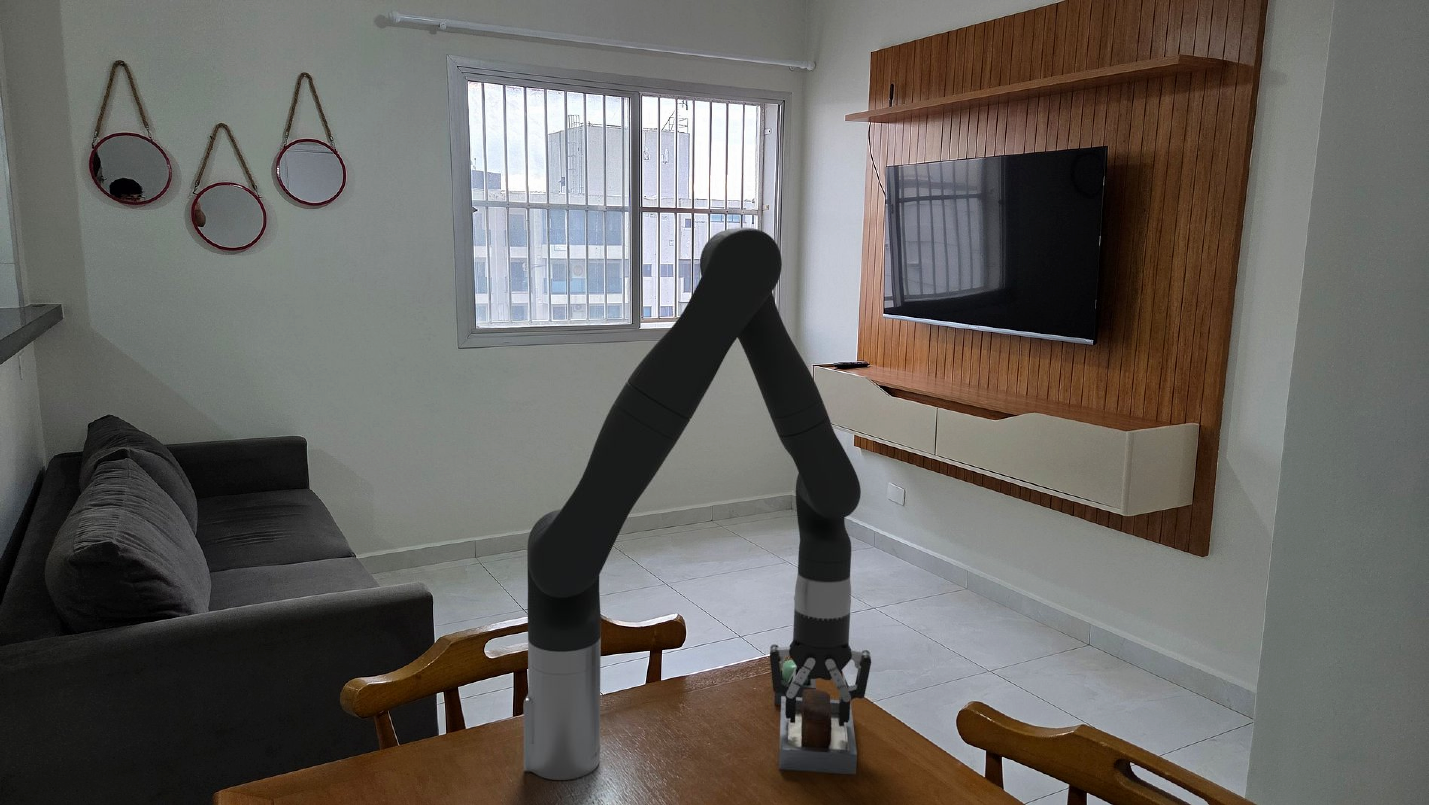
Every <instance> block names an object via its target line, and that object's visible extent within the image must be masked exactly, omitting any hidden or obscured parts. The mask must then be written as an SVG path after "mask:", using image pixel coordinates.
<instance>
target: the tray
mask: <svg viewBox="0 0 1429 805" xmlns="http://www.w3.org/2000/svg"><path fill="white" fill-rule="evenodd" d="M785 707H786V697H785V696H781V705H780V720H779V721H780V724H779V727H780V728H779V750H778V752H779V753H778V754H779V755H778V770H784V771H785V770H787V771H788V770H789V771H799V772H813V773H815V772H816V773H828V774H829V773H830V774H841V775H842V774H844V775H854V776H856V775H857V762H858V761H857V760H858V751H857V744H856V736H855V735H856V734H855V727H854V719H853V712H852V711H853V710H852V701H851V702H850V718H849V721H848V723H845V722H844V727H842V726H839V722H838V715H839V699H831V698H830V707H831V723H832V725H831V728H832V731H831V743H830V746H829V749H826V748H812V747H801V735H802V734H801V724H802V698H800V697H796V713H795V723H790V719H788V718H786V716H785Z"/></svg>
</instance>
